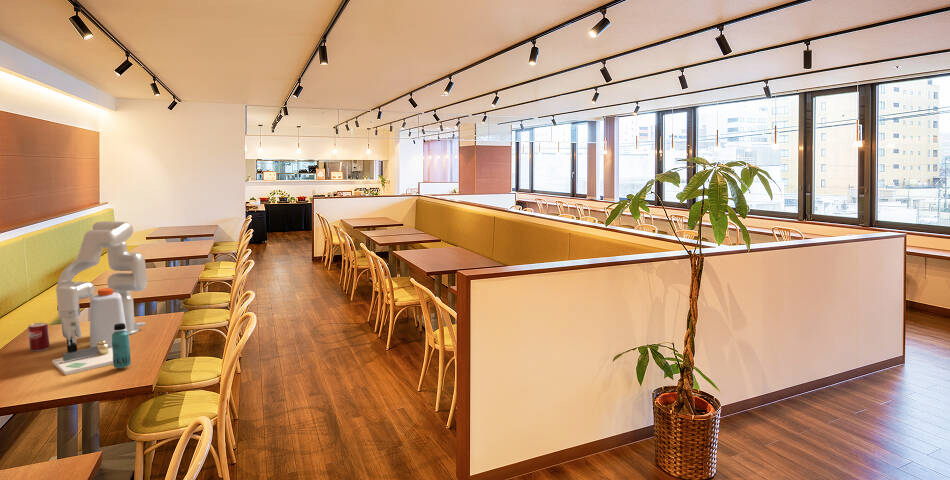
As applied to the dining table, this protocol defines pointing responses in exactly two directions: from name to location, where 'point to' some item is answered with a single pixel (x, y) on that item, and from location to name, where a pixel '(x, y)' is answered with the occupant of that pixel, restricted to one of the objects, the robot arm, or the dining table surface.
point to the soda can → (38, 336)
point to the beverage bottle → (121, 347)
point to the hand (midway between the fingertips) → (72, 353)
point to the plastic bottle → (105, 316)
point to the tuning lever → (87, 351)
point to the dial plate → (84, 363)
